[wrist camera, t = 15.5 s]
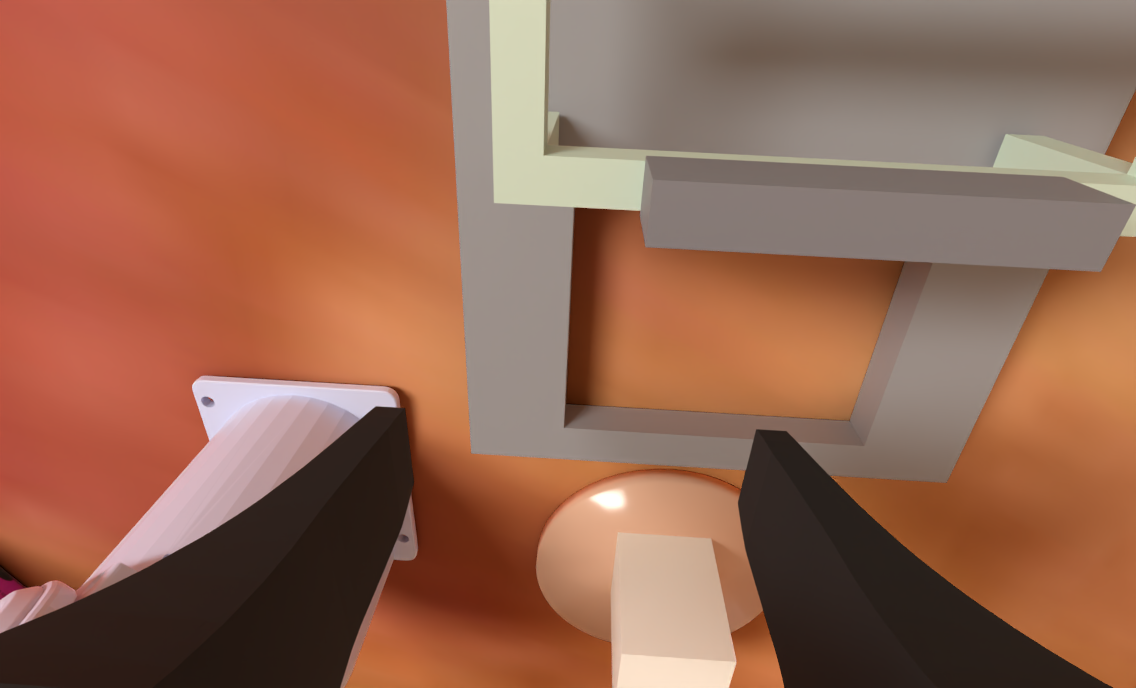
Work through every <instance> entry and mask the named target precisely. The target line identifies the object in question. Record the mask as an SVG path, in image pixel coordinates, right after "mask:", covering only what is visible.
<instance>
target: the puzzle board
mask: <svg viewBox="0 0 1136 688" xmlns="http://www.w3.org/2000/svg"><path fill="white" fill-rule="evenodd" d="M446 4H447V22H448V40H449V58H450V76H451V95H452V113H453V131H454V149H455V167H456V185H457V203H458V221H459V239H460V257H461V276H462V294H463V312H464V330H465V348H466V366H467V384H468V402H469V420H470V439H471V453H473V454H489V455H505V456H521V457H537V458H554V459H570V460H586V461H602V462H618V463H634V464H651V465H667V466H683V467H699V468H715V469H731V470H746V468H747V464H748V460H749V456H750V452H751V448H752V444H753V440H754V436H755V432H756V429H762V430H778V431H787V432H788V433H789V434H790V435H791V436H792V437H793V438H794V439H795V440H796V441H797V442H798V443H799V444H800V445H801V446H802V447H803V448H804V450H805V451H806V452H807V453H808V454H809V455H810V456H811V457H812V458H813V459H814V460H815V461H816V462H817V463H818V464H819V465H820V466H821V467H822V468H823V469H824V470H825V472H826V473H827V474H828V475H829V476H844V477H861V478H877V479H893V480H909V481H925V482H941V483H947V481H948V479H949V477H950V475H951V473H952V471H953V469H954V466H955V464H956V462H957V460H958V458H959V456H960V454H961V452H962V450H963V448H964V446H965V444H966V441H967V439H968V437H969V435H970V433H971V431H972V429H973V427H974V425H975V423H976V421H977V419H978V417H979V414H980V412H981V410H982V408H983V406H984V404H985V402H986V400H987V398H988V396H989V394H990V392H991V390H992V387H993V385H994V383H995V381H996V379H997V377H998V375H999V373H1000V371H1001V369H1002V367H1003V365H1004V362H1005V360H1006V358H1007V356H1008V354H1009V352H1010V350H1011V348H1012V346H1013V344H1014V342H1015V340H1016V338H1017V335H1018V333H1019V331H1020V329H1021V327H1022V325H1023V323H1024V321H1025V319H1026V317H1027V315H1028V313H1029V311H1030V308H1031V306H1032V304H1033V302H1034V300H1035V298H1036V296H1037V294H1038V292H1039V290H1040V288H1041V286H1042V283H1043V281H1044V279H1045V277H1046V275H1047V273H1048V271H1049V269H1041V268H1022V267H1004V266H985V265H967V264H948V263H930V262H911V261H905V263H904V265H903V268H902V271H901V274H900V277H899V280H898V283H897V286H896V289H895V291H894V294H893V297H892V300H891V303H890V306H889V309H888V312H887V314H886V317H885V320H884V323H883V326H882V329H881V332H880V335H879V338H878V340H877V343H876V346H875V349H874V352H873V355H872V358H871V361H870V364H869V366H868V369H867V372H866V375H865V378H864V381H863V384H862V387H861V389H860V392H859V395H858V398H857V401H856V404H855V407H854V410H853V413H852V415H851V418H850V421H841V420H824V419H808V418H791V417H774V416H757V415H741V414H724V413H707V412H691V411H674V410H657V409H641V408H624V407H607V406H591V405H574V404H566V391H567V370H568V348H569V326H570V304H571V283H572V261H573V239H574V217H575V207H560V206H541V205H522V204H503V203H494V183H493V142H492V100H491V58H490V16H489V0H446ZM1135 90H1136V0H550V46H549V93H548V111H550V112H559V144H558V145H560V146H579V147H599V148H619V149H639V150H658V151H678V152H698V153H718V154H737V155H757V156H777V157H797V158H817V159H836V160H856V161H876V162H896V163H915V164H935V165H955V166H975V167H993V165H994V163H995V160H996V157H997V155H998V152H999V150H1000V147H1001V145H1002V142H1003V140H1004V137H1005V135H1006V134H1016V135H1036V136H1046V137H1049V138H1052V139H1055V140H1059V141H1062V142H1065V143H1068V144H1072V145H1075V146H1078V147H1081V148H1085V149H1088V150H1091V151H1094V152H1098V153H1101V154H1104V155H1105V152H1106V150H1107V148H1108V146H1109V144H1110V142H1111V140H1112V138H1113V136H1114V134H1115V132H1116V130H1117V128H1118V125H1119V123H1120V121H1121V119H1122V117H1123V115H1124V113H1125V111H1126V109H1127V107H1128V105H1129V103H1130V100H1131V98H1132V96H1133V94H1134V92H1135Z"/></svg>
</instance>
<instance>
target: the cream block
mask: <svg viewBox="0 0 1136 688" xmlns="http://www.w3.org/2000/svg"><path fill="white" fill-rule="evenodd" d="M611 643H612V688H729V685H730V682H731V679H732V675H733V672H734V669H735V666H736V657H735V652H734V647H733V642H732V637H731V632H730V628H729V623H728V618H727V613H726V608H725V603H724V598H723V593H722V589H721V584H720V579H719V574H718V569H717V564H716V559H715V554H714V549H713V545H712V540H711V538H697V537H682V536H666V535H651V534H636V533H620V532H618V535H617V543H616V552H615V560H614V569H613V578H612V586H611Z"/></svg>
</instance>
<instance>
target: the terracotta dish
mask: <svg viewBox="0 0 1136 688" xmlns="http://www.w3.org/2000/svg"><path fill="white" fill-rule="evenodd" d="M740 492H741V490H739V489H738V488H736V487H734V486H732V485H730V484H728V483H726V482H724V481H722V480H719V479H716V478H713V477H710V476H707V475H704V474H699V473H694V472H690V471H682V470H673V469H650V470H638V471H632V472H627V473H621V474H617V475H614V476H611V477H607V478H604V479H602V480H599V481H597V482H594V483H592V484H590V485H588V486H586V487H584V488H583V489H581V490H579V491H577V492H576V493H574V494H573V495H572V496H570V497H569V498H567V499H566V500H565V501H564V502H563V503H562V504H561V505H560V506H559V507H558V508H557V509H556V510H555V511H554V512H553V513H552V515H551V516H550V517H549V519H548V520H547V522H546V524H545V526H544V528H543V530H542V532H541V536H540V539H539V543H538V552H537V561H536V574H537V580H538V583H539V587H540V589H541V591H542V593H543V595H544V597H545V599H546V600H547V602H548V603H549V605H550V606H551V607H552V608H553V609H554V610H555V611H556V613H557V614H558V615H559V616H561V617H562V618H563V619H564V620H565V621H567V622H568V623H569V624H571V625H573V626H574V627H576V628H577V629H579V630H581V631H583V632H585V633H587V634H589V635H591V636H593V637H596V638H599V639H601V640H604V641H607V642H611V586H612V578H613V569H614V560H615V552H616V543H617V535H618V532H620V533H636V534H651V535H666V536H682V537H697V538H711V540H712V545H713V549H714V554H715V559H716V564H717V569H718V574H719V579H720V584H721V589H722V593H723V598H724V603H725V608H726V613H727V618H728V623H729V628H730V632H731V633H732V632H734V631H735V630H737V629H739V628H741V627H743V626H744V625H746V624H747V623H749V622H750V621H752V620H753V619H754V618H755V617H756V616H757V615H759V614H760V613H761V612H762V611H763V608H762V605H761V601H760V598H759V595H758V591H757V588H756V585H755V581H754V578H753V575H752V571H751V568H750V564H749V561H748V557H747V554H746V550H745V545H744V540H743V534H742V528H741V522H740V515H739V508H738V500H739V496H740Z"/></svg>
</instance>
